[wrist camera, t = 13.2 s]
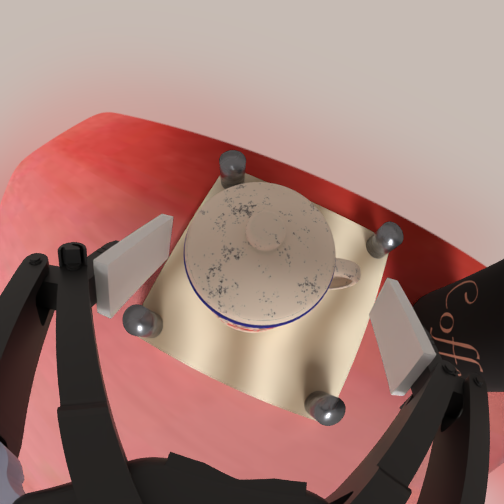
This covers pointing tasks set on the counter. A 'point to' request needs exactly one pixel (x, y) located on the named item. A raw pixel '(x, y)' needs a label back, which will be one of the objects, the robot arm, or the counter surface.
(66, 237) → the counter surface
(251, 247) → the teacup with lid
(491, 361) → the coffee jar
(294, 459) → the counter surface
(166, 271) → the birch board
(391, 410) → the counter surface
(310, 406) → the set of grey pegs
